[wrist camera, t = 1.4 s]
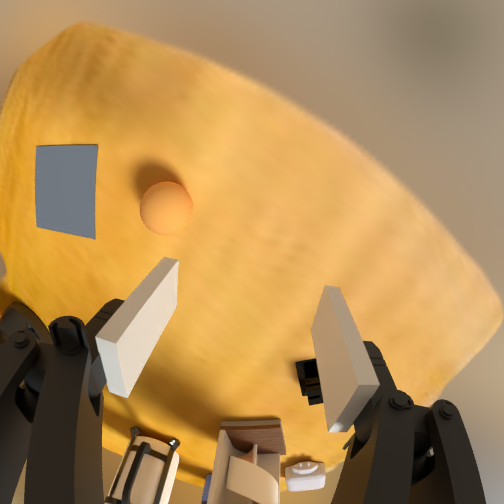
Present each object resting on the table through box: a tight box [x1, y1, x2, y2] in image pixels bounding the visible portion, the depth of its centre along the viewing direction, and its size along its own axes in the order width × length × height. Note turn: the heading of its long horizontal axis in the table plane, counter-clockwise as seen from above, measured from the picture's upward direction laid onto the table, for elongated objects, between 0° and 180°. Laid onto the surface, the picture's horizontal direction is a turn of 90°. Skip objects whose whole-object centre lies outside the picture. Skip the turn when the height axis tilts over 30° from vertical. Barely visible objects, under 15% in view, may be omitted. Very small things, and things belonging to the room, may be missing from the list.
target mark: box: [35, 145, 98, 239], centre depth 29 cm, size 12×12×1 cm
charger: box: [285, 461, 326, 491], centre depth 47 cm, size 5×9×15 cm
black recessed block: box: [295, 358, 324, 405], centre depth 36 cm, size 12×7×5 cm, turn 14°
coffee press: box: [104, 427, 180, 504], centre depth 34 cm, size 17×16×30 cm
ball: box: [140, 181, 193, 235], centre depth 27 cm, size 6×6×6 cm
